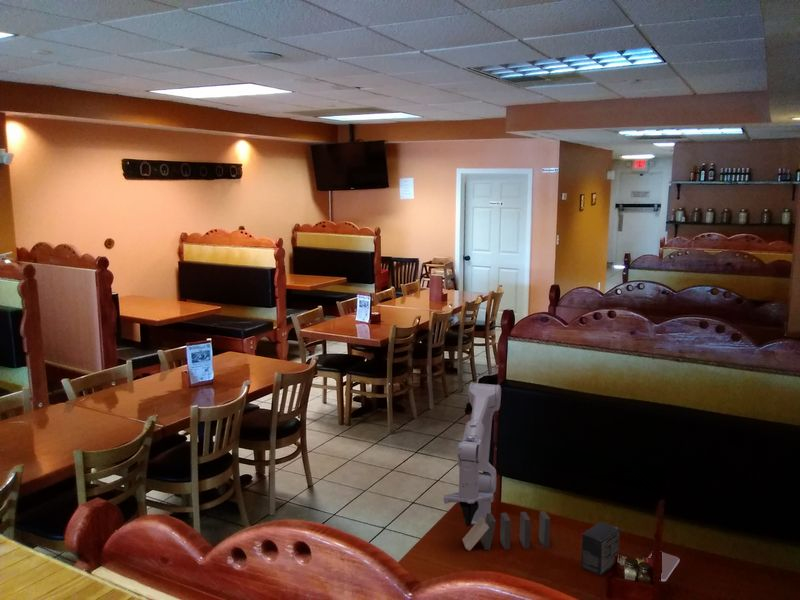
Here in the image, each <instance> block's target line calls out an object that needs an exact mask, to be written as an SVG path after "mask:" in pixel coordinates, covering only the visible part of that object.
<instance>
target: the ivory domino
mask: <svg viewBox="0 0 800 600" xmlns="http://www.w3.org/2000/svg"><path fill="white" fill-rule="evenodd" d="M488 528H489V526H488V524H487V522H486V520H485V519H484V518H482V517H481V518H480V519H479V520H478V521H477V522H476V524H473V526H472V527H471V528H470V530H469V531H468V532H467V533H466V534H465V536H464V537H463V538H462V542H463V545H464V548H465V550H467V551H469V552H470V551H471V550H472V549H473V548H474V546H476V544H477V543H478V542H479V541H480V540H481V537H482V536H483V535H484V533H485V532H486V531H487V530H488Z"/></svg>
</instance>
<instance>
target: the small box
mask: <svg viewBox="0 0 800 600" xmlns="http://www.w3.org/2000/svg"><path fill="white" fill-rule="evenodd" d="M620 533H621V528H620V527H619V526H615V525H612V524H610V523H607V522H604V521H600V522H597V523H596V524H595V525H592V527H590V528H589V529H587V530H585V531H584V532H583V533H582V537H581V538H582V540H581V544H582V545H581V569H584V570H586V571H588V570H589V571H588V572H590V571H591V572H590V573H592V572H593V574H595V573H596V574H595V575H597V574H598V576H599V575H601V576H603V575H604V574H605V573H607V571H610V569H612V568H613V567H614V566H613V563H614V559H615V556H617V555H619V556H620V535H621V534H620ZM612 566H613V567H612ZM602 574H603V575H602Z"/></svg>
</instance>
